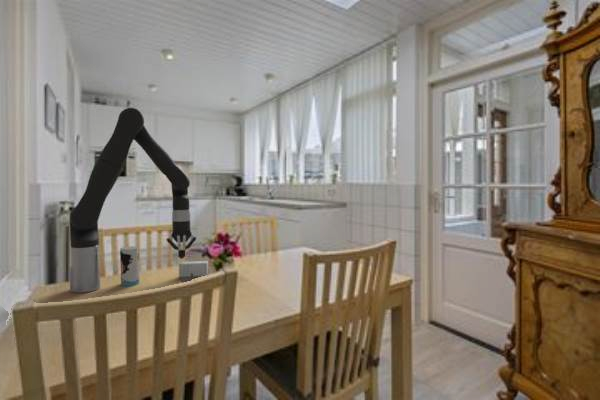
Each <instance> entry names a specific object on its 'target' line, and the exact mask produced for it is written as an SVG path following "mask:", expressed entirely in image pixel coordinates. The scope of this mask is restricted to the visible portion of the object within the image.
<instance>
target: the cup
mask: <svg viewBox="0 0 600 400" xmlns="http://www.w3.org/2000/svg"><path fill="white" fill-rule="evenodd" d="M119 255H120V256H119V257H120V262H119V263H120V285H121V286H123V287H131V286H133V287H134V286H136V285H138V284H140V262H139V261H140V259H139V258H140V257H139V255H140V254H139V246H135V245H134V246H133V245H132V246H122V247H120V248H119Z"/></svg>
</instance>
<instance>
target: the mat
mask: <svg viewBox="0 0 600 400" xmlns="http://www.w3.org/2000/svg"><path fill="white" fill-rule="evenodd" d="M198 277H201V276H194V277H180V278H181V279H180V281H181V282H190V281H189V280H192V279H195V278H198Z"/></svg>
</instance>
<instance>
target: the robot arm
mask: <svg viewBox="0 0 600 400" xmlns="http://www.w3.org/2000/svg"><path fill="white" fill-rule="evenodd" d="M117 118H118V119H117V121H116V124H115V127H114V130H113V133H112V134H111V137H110V138H109V140H108V141H107V143H106V144H105V146H104V147H103V149H102V150H101V152H100V153H99V155H98V157H97V160H96V161H95V164H94V165H93V168H92V169H91V172H90V175H89V178H88V182H87V186H86V188H85V191H84V193H83V195H82V197H81V198H80V200H79V202H78V203H77V204H76V206H74V207H73V208H72V209H71V210H70V213H69V233H70V235H69V236H70V238H69V239H70V240H69V241H70V260H71V261H70V263H71V265H70V267H69V290H70V291H69V292H70V293H78V294H80V293H81V294H82V293H88V292H93V291H96V290H98V289H100V288H101V275H100V274H101V270H100V268H101V267H100V266H101V265H100V239H99V219H100V216H101V212H102V209H103V207H104V205H105V202H106V199H107V197H108V195H109V194H110V193H111V191H112V190H113V188H114V185H115V184H116V183H117V180H118V179H119V176H120V175H121V172H122V170H123V168H124V166H125V164H126V161H127V158H128V156H129V152H130V148H131V146H132V143H133V142H134V141H135V142H136V143H137V145H139V147H141V149H142V150H143V151H144V153H145V154H146V155H147V156H148V157H149V159H150V160H151V161H152V162H153V164H154V166H156V168H158V170H159V171H160V172H161V173H162V175H164V176H165V177H166V179H167V180H168V181H169V182H170V184H171V194H172V215H171V221H172V225H171V226H172V232H171V235H170V236H169V237H167V238H166V242H167V243H169V245H170V246H171V247H172V248H173V249H174V250H176V251H177V252H178V254H177V255H178V258H179V259H181V260H182V259H185V257H186V250H188V249H190V248H191V247H192V246H193V243H195V241H196V240H197V236H195V235H193V234H192V231H191V211H190V199H189V187H190V183H191V182H190V179H189V178H188V176H187V175H186V173H185V172H183V170H182V169H181V168H180V167H179V166H178V165H177V164H176V162H175V161H174V159H173V158H172V157H171V156H170V154H169V153H168V152H167V151H166V150H165V148H163V147H162V146H161V144H159V143H158V142H157V141H156V140H155V139H154V137H152V135H151V134H150V132H149V131H148V129H147V128H146V126H145V124H144V123H145V117H144V116H143V113H142V112H141V111H140V110H139V109H137V108H135V107H127V108H125V109H122V111H121V112H120V113H119V115H118V117H117ZM189 239H190V241H189ZM173 240H174V241H175V242H176V243H177V245H176V243H175V242H174V241H173ZM188 241H189V242H188ZM187 242H188V244H187V245H186V243H187Z"/></svg>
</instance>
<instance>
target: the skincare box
mask: <svg viewBox="0 0 600 400" xmlns="http://www.w3.org/2000/svg"><path fill="white" fill-rule="evenodd" d="M208 269H209V261H208V260H200V261H199V260H195V261H179V263H178V277H179V278H181V277H194V276H205V275H208Z"/></svg>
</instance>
